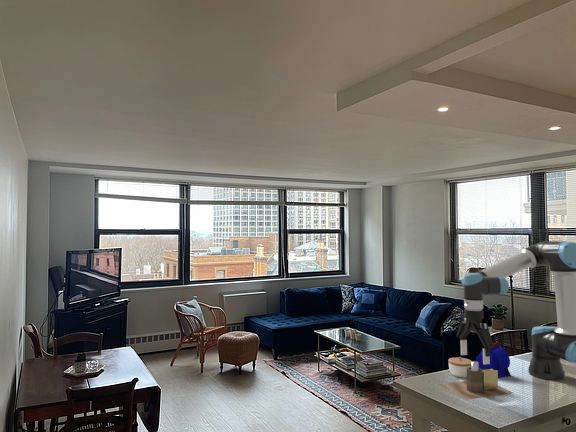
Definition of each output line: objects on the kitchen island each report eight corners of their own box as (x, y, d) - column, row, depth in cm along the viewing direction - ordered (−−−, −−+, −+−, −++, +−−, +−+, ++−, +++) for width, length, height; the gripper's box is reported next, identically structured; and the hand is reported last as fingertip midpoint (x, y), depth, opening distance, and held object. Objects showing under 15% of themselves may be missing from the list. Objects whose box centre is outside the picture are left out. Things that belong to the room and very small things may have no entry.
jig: (483, 381, 195) (482, 359, 196) (514, 395, 178) (513, 371, 179) (438, 386, 189) (438, 363, 189) (466, 402, 171) (466, 376, 172)
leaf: (496, 388, 183) (496, 370, 183) (497, 388, 182) (497, 370, 183) (482, 389, 181) (482, 371, 182) (483, 390, 181) (483, 371, 181)
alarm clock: (512, 376, 203) (511, 344, 204) (493, 379, 198) (492, 347, 199) (491, 368, 214) (490, 338, 215) (472, 371, 210) (472, 341, 210)
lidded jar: (465, 382, 194) (465, 362, 194) (444, 376, 202) (443, 356, 202) (477, 377, 201) (476, 357, 201) (455, 371, 209) (455, 352, 209)
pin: (475, 388, 183) (475, 360, 183) (479, 391, 180) (480, 363, 180) (469, 389, 182) (469, 361, 182) (474, 392, 179) (474, 363, 179)
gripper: (447, 305, 193) (448, 352, 192) (487, 315, 169) (489, 369, 169) (461, 304, 195) (462, 350, 195) (503, 314, 171) (504, 367, 171)
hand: (474, 359), depth 182 cm, fingers open, 13 cm apart
